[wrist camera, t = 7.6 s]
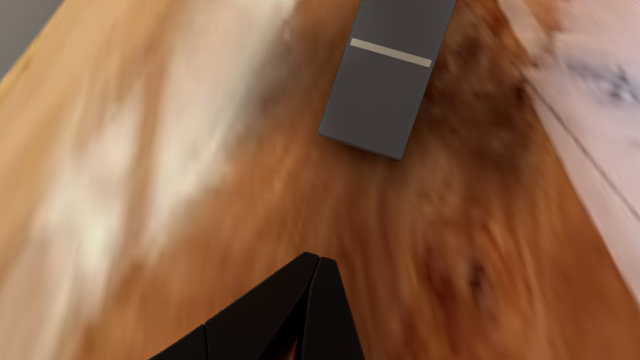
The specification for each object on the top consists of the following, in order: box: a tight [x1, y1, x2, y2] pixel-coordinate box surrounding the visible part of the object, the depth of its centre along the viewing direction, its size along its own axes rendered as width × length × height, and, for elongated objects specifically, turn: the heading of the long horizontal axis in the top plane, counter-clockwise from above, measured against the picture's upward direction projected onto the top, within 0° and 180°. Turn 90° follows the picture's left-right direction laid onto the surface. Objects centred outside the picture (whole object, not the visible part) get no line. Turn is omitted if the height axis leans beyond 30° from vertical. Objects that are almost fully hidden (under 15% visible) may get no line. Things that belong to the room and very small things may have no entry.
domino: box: [317, 0, 456, 161], centre depth 19 cm, size 2×5×11 cm
